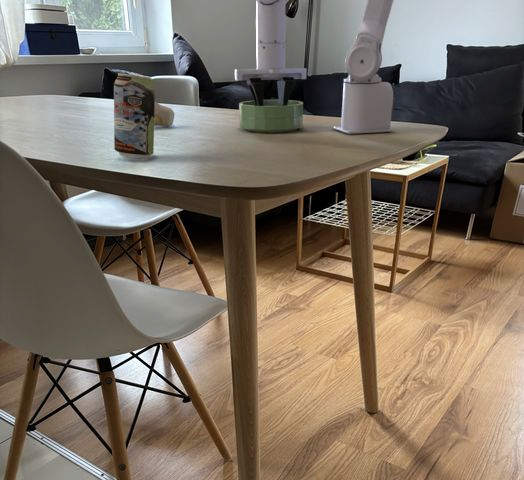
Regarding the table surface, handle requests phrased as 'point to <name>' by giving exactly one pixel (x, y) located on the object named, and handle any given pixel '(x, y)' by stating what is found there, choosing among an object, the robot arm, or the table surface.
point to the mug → (163, 116)
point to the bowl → (271, 116)
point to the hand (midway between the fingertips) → (270, 118)
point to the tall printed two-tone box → (134, 116)
